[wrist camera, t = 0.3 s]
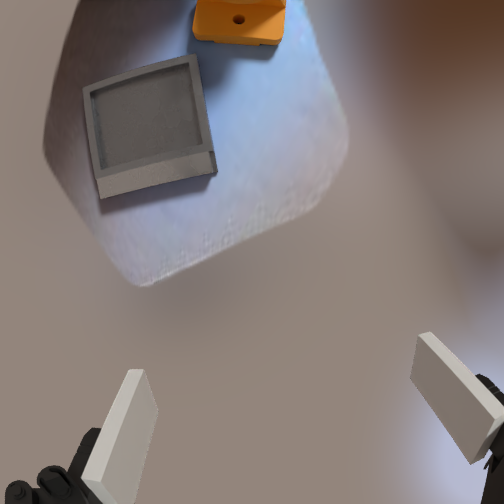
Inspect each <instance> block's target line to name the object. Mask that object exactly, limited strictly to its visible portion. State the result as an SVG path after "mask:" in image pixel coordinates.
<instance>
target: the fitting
mask: <svg viewBox="0 0 504 504" xmlns="http://www.w3.org/2000/svg"><path fill="white" fill-rule="evenodd" d="M82 89H83V99H84V109H85V117H86V125H87V132H88V139H89V146H90V152H91V158H92V164H93V170H94V175H95V180H97V184H98V189H99V194H100V199H103V198H107V197H111V196H115V195H118V194H122V193H126V192H130V191H134V190H138V189H142V188H146V187H150V186H154V185H158V184H163V183H167V182H171V181H176V180H180V179H185V178H190V177H194V176H199V175H204V174H209V173H214V172H218V169H217V164H216V158H215V153H214V147H213V142H212V136H211V131H210V125H209V120H208V114H207V109H206V103H205V97H204V91H203V86H202V80H201V74H200V68H199V62H198V57H197V55H196V53H195V54H190V55H186V56H181V57H177V58H173V59H169V60H165V61H161V62H158V63H154V64H150V65H147V66H143V67H140V68H137V69H134V70H130V71H127V72H124V73H121V74H118V75H115V76H112V77H109V78H107V79H104V80H101V81H98V82H96V83H93V84H90V85H88V86H85V87H83V88H82Z"/></svg>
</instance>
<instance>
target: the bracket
mask: <svg viewBox="0 0 504 504" xmlns="http://www.w3.org/2000/svg"><path fill="white" fill-rule="evenodd" d="M285 8H286V0H197V5H196V10H195V16H194V21H193V27H192V30H193V33H194V36H195V38H196V39H198V40H208V41H214V43H228V44H243V45H255V46H259V45H260V44H267V45H277V44H279V43H280V42H281V40H282V37H283V33H284V20H285ZM236 23H242V24H236Z"/></svg>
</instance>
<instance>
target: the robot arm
mask: <svg viewBox="0 0 504 504" xmlns="http://www.w3.org/2000/svg"><path fill="white" fill-rule="evenodd" d="M410 379H411V380H412V382H413V383H414V384H415V386H416V387H417V389H418V390H419V391H420V393H421V394H422V395H423V397H424V398H425V400H426V401H427V402H428V404H429V405H430V407H431V408H432V409H433V411H434V412H435V414H436V415H437V416H438V418H439V419H440V421H441V422H442V423H443V425H444V427H445V428H446V429H447V431H448V432H449V434H450V435H451V437H452V438H453V440H454V441H455V443H456V444H457V446H458V447H459V449H460V450H461V452H462V453H463V455H464V456H465V458H466V459H467V461H468V462H469V464H470V465H471V464H473V463H475V462H477V461H479V460H480V459H482V458H484V457H485V455H486V453H487V452H488V450H489V449H490V450H491V451H492V455H491V457H490V458H489V460H488V461H487V463H486V465H485V467H484V469H486V468H487V466H488V465H489V468H488V473H487V478H486V483H485V487H484V492H483V496H482V500H481V504H504V394H503V393H502V392H500V390H499V389H498V388H497V386H495V385H494V383H493V382H491V381H490V380H489V378H487V377H485V376H483V375H480V374H477V375H474V374H473V373H472V372H471V371H470V370H469V369H468V368H467V367H466V366H464V364H463V363H462V362H461V361H460V360H459V359H458V358H457V357H456V356H455V355H454V354H452V352H451V351H450V350H449V349H448V348H446V346H445V345H444V344H443V343H442V342H440V340H439V339H438V338H436V337H435V336H434V335H433V334H432V333H431V332H427V333H423V334H420V335H418V339H417V344H416V351H415V356H414V362H413V366H412V371H411V376H410ZM158 412H159V411H158V408H157V406H156V403H155V400H154V397H153V394H152V392H151V389H150V386H149V383H148V380H147V377H146V374H145V371H144V369H129V371H128V373H127V375H126V377H125V379H124V381H123V383H122V385H121V388H120V390H119V392H118V394H117V396H116V399H115V401H114V403H113V405H112V407H111V409H110V412H109V414H108V416H107V418H106V420H105V423H104V425H103V427H102V429H101V428H91V429H90V430H89V431H88V432H87V433H86V434H85V435H84V437H83V439H82V441H81V443H80V446H79V447H78V450H77V453H76V454H75V456H74V458H73V460H72V463H71V465H70V467H69V469H68V472H66V470H65V469H64V468H62V467H60V466H55V465H53V466H48V467H46V468H44V469H42V470H41V472H40V473H39V474H38V477H37V484H38V485H39V487H40V488H31V486H30V485H29V484H28V483H27V482H25V481H20V480H17V481H14V482H12V483H11V484H9V485H8V487H7V488H6V492H5V504H135V500H136V496H137V492H138V487H139V484H140V480H141V475H142V472H143V468H144V464H145V460H146V456H147V453H148V448H149V445H150V441H151V438H152V434H153V430H154V427H155V423H156V419H157V416H158Z"/></svg>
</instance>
